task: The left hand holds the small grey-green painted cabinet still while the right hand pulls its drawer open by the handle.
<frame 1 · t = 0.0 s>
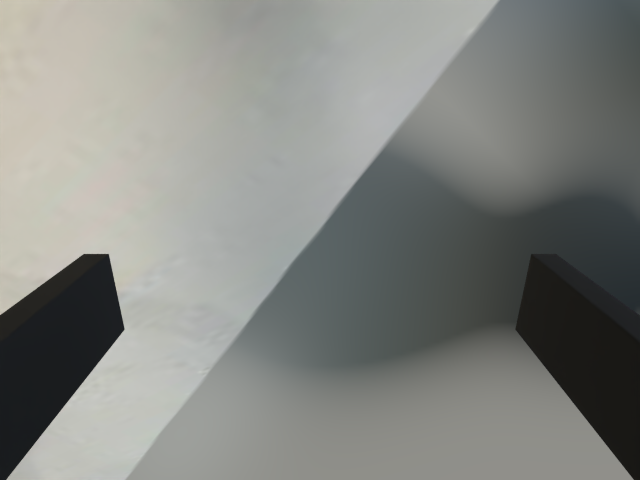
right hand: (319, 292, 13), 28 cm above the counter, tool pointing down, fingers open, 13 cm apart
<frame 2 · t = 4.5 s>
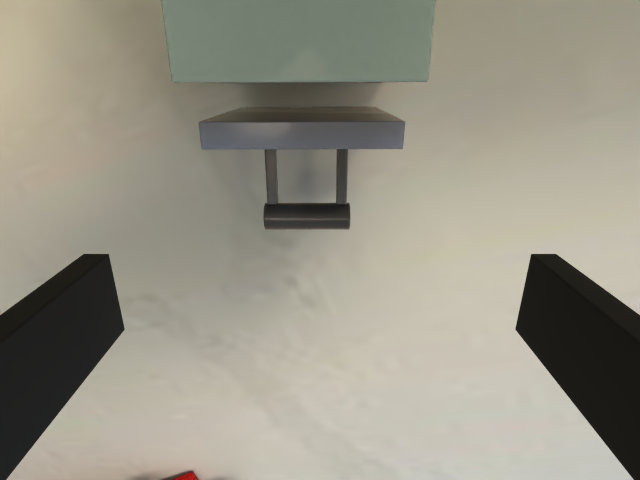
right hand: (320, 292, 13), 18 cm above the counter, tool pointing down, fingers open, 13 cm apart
drawer: (304, 14, 20), point 6 cm above the counter, slide at 1.6 cm
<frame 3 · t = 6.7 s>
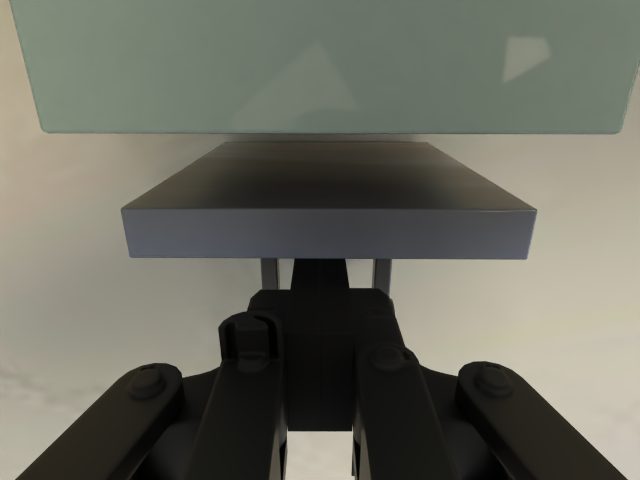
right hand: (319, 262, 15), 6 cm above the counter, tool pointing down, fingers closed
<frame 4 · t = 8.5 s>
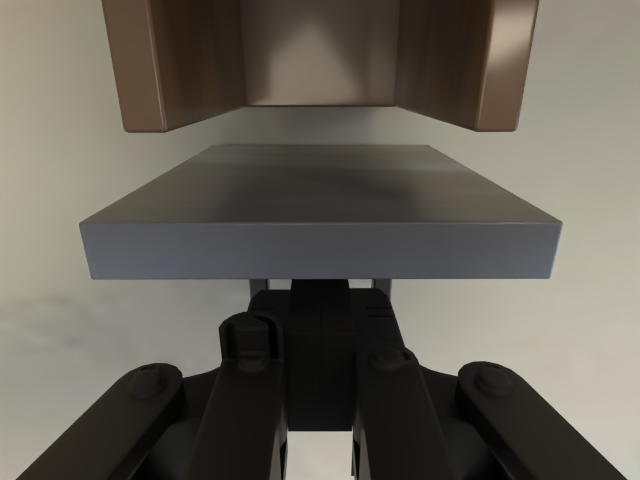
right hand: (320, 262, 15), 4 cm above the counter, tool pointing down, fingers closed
when the left hand's fingers open (7 cm above the counter, at t = 10.1 s): cabinet stays where it is, on the counter.
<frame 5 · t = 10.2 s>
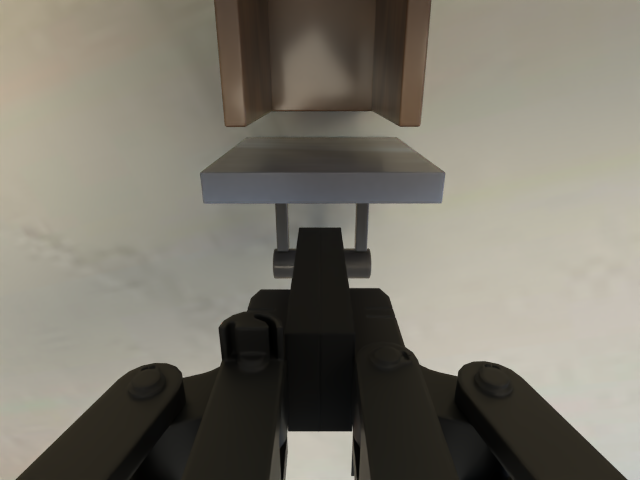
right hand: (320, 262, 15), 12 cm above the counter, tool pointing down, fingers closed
drawer: (322, 40, 18), point 6 cm above the counter, slide at 8.8 cm
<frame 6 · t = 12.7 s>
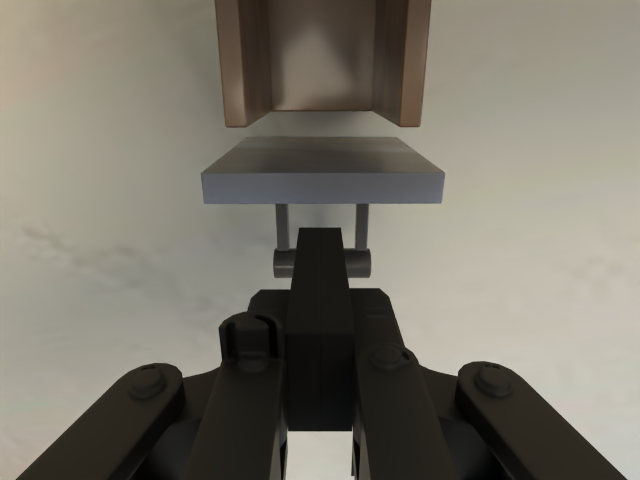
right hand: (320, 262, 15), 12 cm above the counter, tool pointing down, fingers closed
drawer: (322, 40, 18), point 6 cm above the counter, slide at 8.8 cm
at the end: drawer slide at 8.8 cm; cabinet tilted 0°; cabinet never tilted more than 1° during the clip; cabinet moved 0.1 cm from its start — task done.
